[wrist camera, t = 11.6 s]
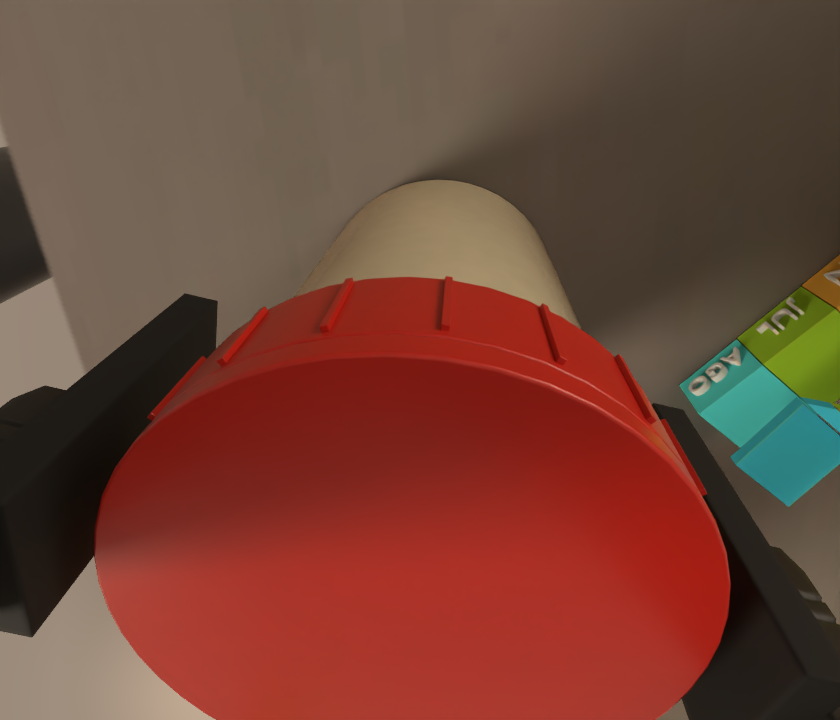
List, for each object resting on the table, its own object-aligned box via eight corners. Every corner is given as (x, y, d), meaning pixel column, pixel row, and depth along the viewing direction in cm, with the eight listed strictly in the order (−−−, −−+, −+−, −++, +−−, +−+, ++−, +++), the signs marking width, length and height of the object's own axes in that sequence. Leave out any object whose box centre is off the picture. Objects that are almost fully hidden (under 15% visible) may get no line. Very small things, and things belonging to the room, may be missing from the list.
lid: (760, 554, 10) (840, 686, 8) (385, 700, 13) (371, 822, 11) (470, 136, 7) (472, 167, 5) (73, 460, 10) (-32, 565, 8)
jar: (281, 276, 19) (59, 532, 9) (460, 123, 16) (452, 228, 6) (422, 424, 22) (383, 757, 11) (596, 315, 19) (761, 623, 8)
